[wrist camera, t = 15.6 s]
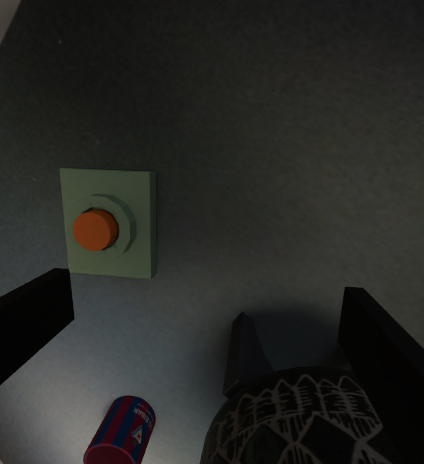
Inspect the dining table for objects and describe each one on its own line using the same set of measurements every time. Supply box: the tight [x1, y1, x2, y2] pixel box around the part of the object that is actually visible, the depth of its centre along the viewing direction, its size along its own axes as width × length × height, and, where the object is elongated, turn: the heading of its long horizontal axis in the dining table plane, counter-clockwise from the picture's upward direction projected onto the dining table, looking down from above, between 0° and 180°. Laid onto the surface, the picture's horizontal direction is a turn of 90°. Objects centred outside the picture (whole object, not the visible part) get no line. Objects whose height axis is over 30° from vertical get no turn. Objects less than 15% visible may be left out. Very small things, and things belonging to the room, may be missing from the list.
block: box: [60, 168, 157, 279], centre depth 30 cm, size 12×10×4 cm
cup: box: [83, 396, 155, 464], centre depth 36 cm, size 7×10×7 cm
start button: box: [73, 210, 118, 251], centre depth 28 cm, size 4×4×2 cm
